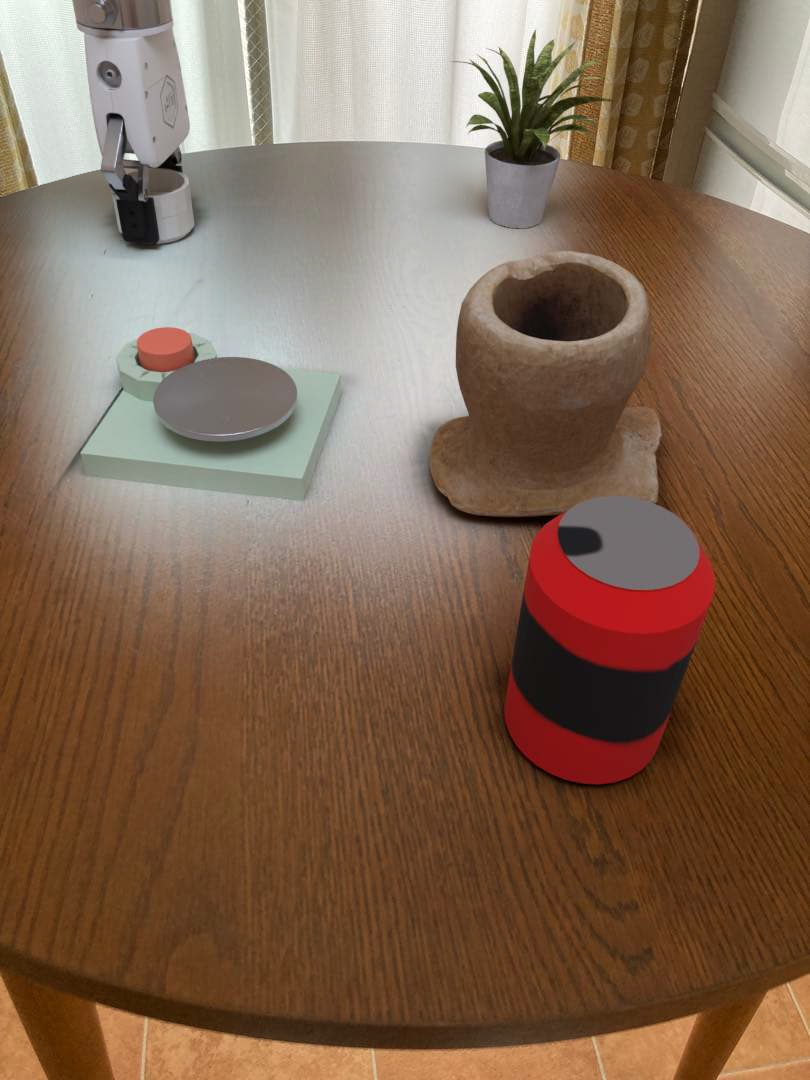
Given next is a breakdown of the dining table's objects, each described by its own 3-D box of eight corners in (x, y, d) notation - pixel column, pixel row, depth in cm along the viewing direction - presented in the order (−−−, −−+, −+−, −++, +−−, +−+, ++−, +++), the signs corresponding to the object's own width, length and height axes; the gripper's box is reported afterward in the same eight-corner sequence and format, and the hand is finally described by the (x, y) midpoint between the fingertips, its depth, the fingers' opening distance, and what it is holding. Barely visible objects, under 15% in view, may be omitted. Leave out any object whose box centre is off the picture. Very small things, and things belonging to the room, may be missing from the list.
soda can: (492, 665, 48) (519, 483, 40) (636, 660, 48) (691, 479, 40) (516, 793, 42) (553, 611, 34) (678, 785, 43) (752, 605, 34)
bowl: (108, 242, 83) (98, 193, 80) (135, 212, 88) (127, 165, 85) (181, 249, 82) (174, 200, 79) (204, 219, 87) (198, 171, 84)
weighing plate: (133, 433, 56) (131, 426, 55) (180, 356, 62) (179, 350, 62) (278, 449, 55) (277, 442, 55) (311, 370, 62) (310, 363, 61)
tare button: (132, 371, 62) (128, 351, 60) (150, 344, 64) (147, 324, 63) (184, 376, 61) (181, 356, 60) (201, 349, 64) (198, 329, 63)
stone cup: (439, 556, 54) (457, 324, 44) (422, 436, 62) (434, 220, 52) (693, 550, 55) (767, 322, 45) (641, 433, 63) (693, 221, 53)
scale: (74, 475, 58) (62, 430, 56) (145, 370, 67) (137, 327, 65) (303, 502, 57) (301, 457, 54) (343, 391, 66) (342, 348, 64)
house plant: (486, 265, 82) (505, 66, 71) (408, 208, 91) (415, 23, 80) (611, 235, 88) (646, 46, 77) (526, 184, 96) (547, 8, 85)
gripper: (128, 37, 66) (164, 269, 78) (202, -15, 79) (223, 191, 91) (29, 29, 67) (79, 261, 79) (117, -21, 80) (149, 185, 92)
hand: (156, 222), depth 85 cm, fingers closed on bowl, 6 cm apart
